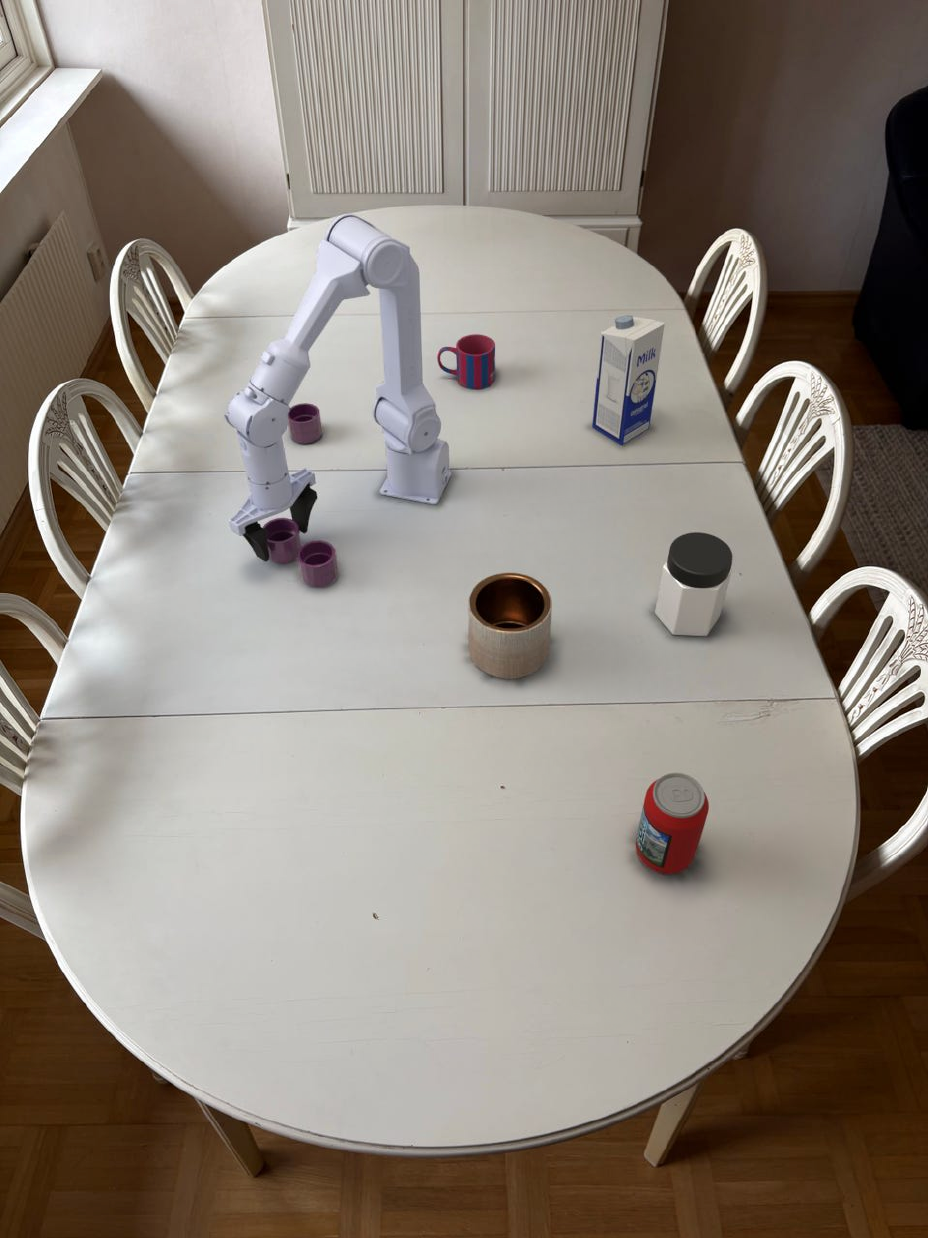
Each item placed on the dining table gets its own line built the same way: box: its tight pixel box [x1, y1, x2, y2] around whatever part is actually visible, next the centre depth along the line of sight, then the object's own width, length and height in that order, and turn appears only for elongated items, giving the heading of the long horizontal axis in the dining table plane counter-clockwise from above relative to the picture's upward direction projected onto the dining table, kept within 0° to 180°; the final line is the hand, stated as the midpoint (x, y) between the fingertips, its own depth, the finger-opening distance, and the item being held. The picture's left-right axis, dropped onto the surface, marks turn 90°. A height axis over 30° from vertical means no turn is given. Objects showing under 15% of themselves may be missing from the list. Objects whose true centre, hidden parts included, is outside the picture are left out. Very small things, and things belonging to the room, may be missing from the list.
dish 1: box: [261, 517, 303, 565], centre depth 146 cm, size 5×5×4 cm
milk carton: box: [591, 315, 666, 447], centre depth 159 cm, size 7×7×20 cm
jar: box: [654, 531, 733, 637], centre depth 134 cm, size 9×8×12 cm
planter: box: [467, 572, 553, 680], centre depth 131 cm, size 11×11×10 cm
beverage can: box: [635, 772, 710, 875], centre depth 109 cm, size 7×7×12 cm
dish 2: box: [287, 402, 323, 445], centre depth 165 cm, size 5×5×4 cm
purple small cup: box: [296, 539, 340, 588], centre depth 143 cm, size 5×5×4 cm
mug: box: [436, 333, 496, 390], centre depth 174 cm, size 7×10×7 cm
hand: (282, 543), depth 147 cm, fingers open, 7 cm apart
